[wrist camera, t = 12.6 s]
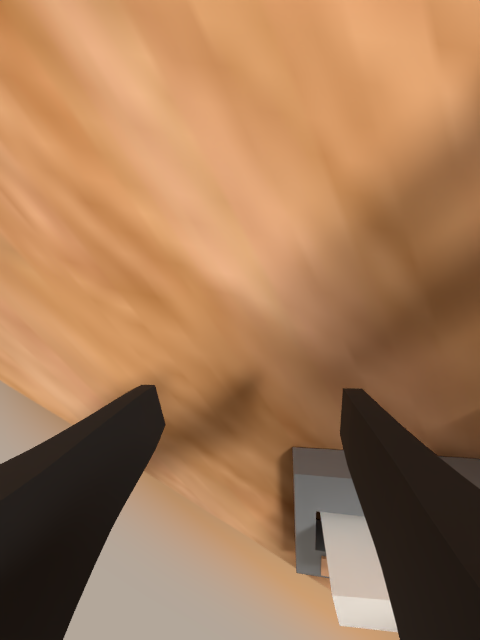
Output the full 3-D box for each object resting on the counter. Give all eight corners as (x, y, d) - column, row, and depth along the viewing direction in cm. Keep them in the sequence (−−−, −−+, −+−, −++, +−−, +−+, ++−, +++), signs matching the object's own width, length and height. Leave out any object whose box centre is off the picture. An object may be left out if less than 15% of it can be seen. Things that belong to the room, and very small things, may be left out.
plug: (361, 489, 21) (397, 601, 15) (365, 517, 23) (400, 632, 16) (316, 489, 22) (332, 595, 16) (323, 517, 23) (339, 625, 17)
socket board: (536, 462, 17) (578, 500, 15) (487, 568, 22) (513, 610, 20) (292, 447, 21) (294, 476, 18) (295, 542, 26) (296, 575, 23)
